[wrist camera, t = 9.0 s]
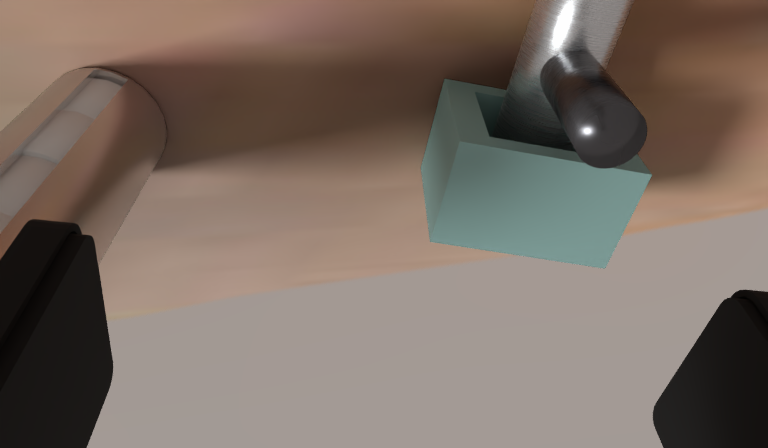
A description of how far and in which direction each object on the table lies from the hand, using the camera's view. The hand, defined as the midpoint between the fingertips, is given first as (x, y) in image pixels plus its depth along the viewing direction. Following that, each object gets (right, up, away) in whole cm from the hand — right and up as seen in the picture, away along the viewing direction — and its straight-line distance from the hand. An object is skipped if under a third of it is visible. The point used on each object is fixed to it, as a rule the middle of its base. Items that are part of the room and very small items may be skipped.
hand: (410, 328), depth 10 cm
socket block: (+7, +6, +26) cm, 27 cm away
